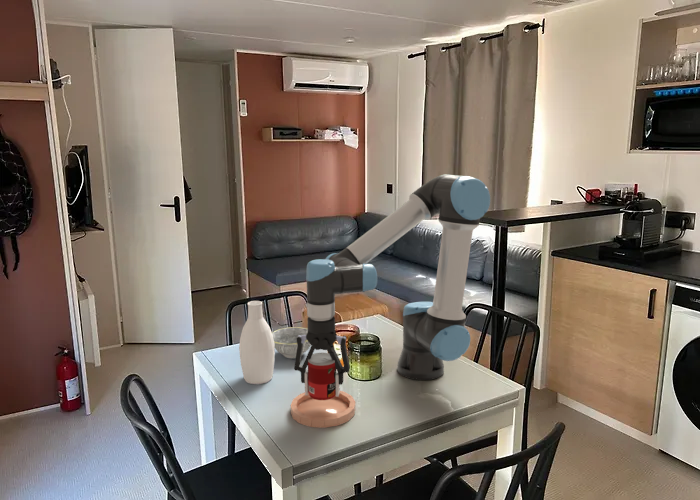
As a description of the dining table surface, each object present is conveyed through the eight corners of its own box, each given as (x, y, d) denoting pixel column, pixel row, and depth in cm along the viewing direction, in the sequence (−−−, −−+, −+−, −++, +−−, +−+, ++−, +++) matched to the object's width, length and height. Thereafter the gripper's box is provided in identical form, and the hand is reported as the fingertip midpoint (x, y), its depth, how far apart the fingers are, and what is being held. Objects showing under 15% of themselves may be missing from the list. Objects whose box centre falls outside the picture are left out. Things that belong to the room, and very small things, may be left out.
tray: (357, 396, 159) (357, 390, 159) (351, 428, 142) (351, 421, 141) (298, 394, 161) (298, 387, 161) (285, 425, 144) (284, 418, 143)
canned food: (333, 402, 146) (332, 364, 144) (304, 399, 148) (304, 362, 145) (339, 389, 153) (339, 353, 151) (312, 387, 155) (311, 351, 153)
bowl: (296, 367, 180) (296, 346, 179) (260, 357, 189) (259, 337, 187) (323, 351, 194) (323, 331, 192) (289, 343, 202) (288, 324, 200)
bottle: (267, 368, 180) (264, 295, 175) (281, 380, 171) (278, 304, 166) (235, 376, 174) (231, 301, 169) (248, 389, 165) (244, 310, 160)
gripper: (360, 313, 148) (360, 389, 153) (286, 311, 151) (288, 386, 155) (358, 322, 141) (358, 401, 146) (280, 319, 143) (283, 398, 148)
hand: (322, 393), depth 150 cm, fingers closed on canned food, 8 cm apart
